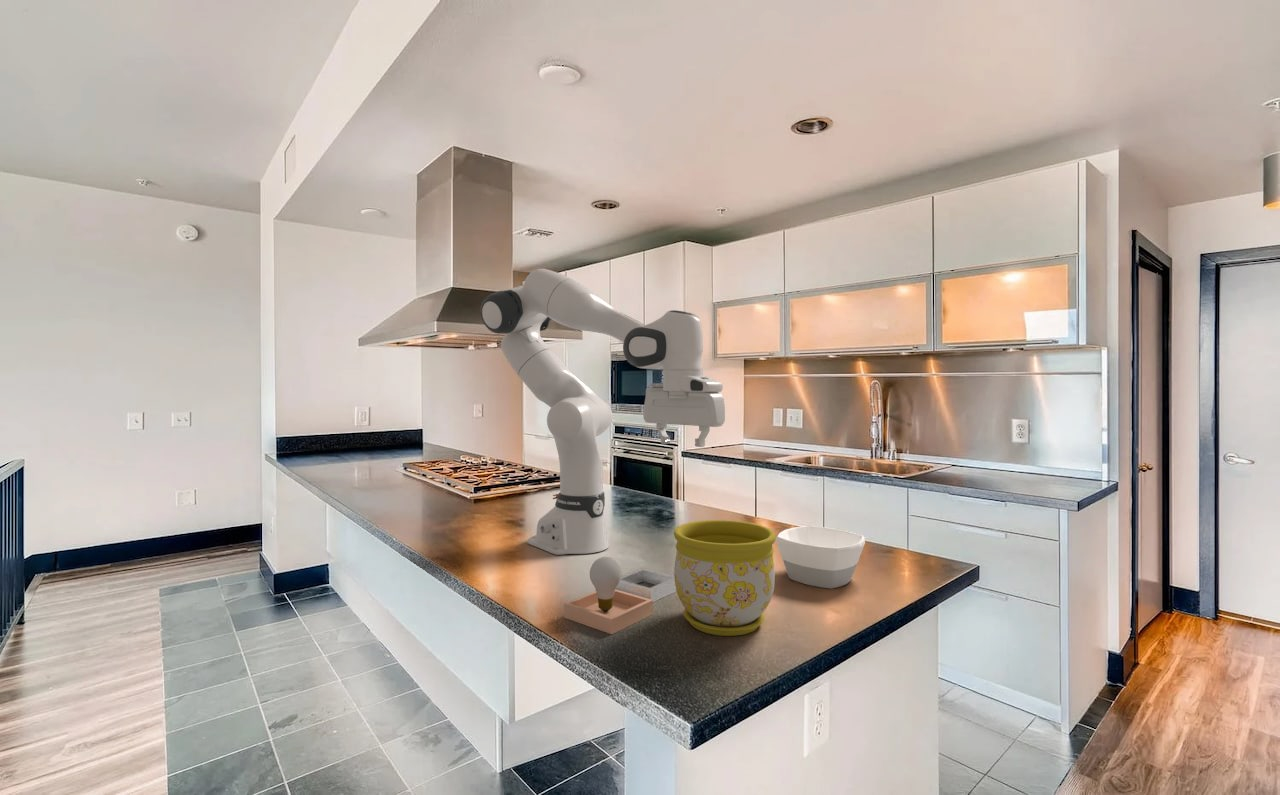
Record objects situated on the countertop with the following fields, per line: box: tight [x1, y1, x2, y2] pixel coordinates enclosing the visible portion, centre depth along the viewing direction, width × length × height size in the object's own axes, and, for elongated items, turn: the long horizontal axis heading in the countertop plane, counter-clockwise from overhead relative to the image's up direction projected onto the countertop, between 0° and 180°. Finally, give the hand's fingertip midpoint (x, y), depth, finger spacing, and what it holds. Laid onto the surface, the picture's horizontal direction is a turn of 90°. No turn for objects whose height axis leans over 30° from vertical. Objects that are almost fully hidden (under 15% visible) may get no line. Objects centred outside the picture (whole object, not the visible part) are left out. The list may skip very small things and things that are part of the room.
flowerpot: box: [673, 519, 777, 637], centre depth 108 cm, size 18×18×16 cm
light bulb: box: [589, 556, 622, 612], centre depth 112 cm, size 6×6×10 cm
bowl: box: [775, 525, 866, 590], centre depth 132 cm, size 18×18×9 cm
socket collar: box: [616, 567, 677, 603], centre depth 125 cm, size 10×10×2 cm
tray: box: [563, 589, 654, 635], centre depth 111 cm, size 12×12×3 cm
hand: (682, 445), depth 135 cm, fingers open, 8 cm apart
